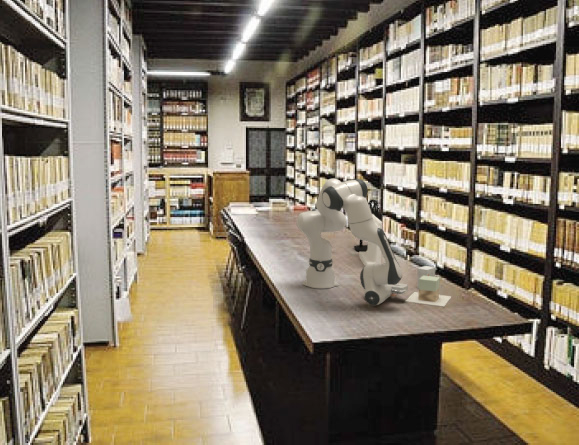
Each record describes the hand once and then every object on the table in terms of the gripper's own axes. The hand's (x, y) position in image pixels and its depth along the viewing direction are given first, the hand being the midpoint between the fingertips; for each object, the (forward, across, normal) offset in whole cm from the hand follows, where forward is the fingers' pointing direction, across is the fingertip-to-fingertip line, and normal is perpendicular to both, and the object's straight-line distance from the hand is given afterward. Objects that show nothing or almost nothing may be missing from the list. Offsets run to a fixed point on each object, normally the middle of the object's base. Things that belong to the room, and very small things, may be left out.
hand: (390, 283), depth 273 cm
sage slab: (-1, -19, 0) cm, 19 cm away
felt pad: (-1, -19, +6) cm, 20 cm away
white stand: (+63, +31, +6) cm, 71 cm away
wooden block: (-1, -19, +5) cm, 20 cm away
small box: (+20, -13, +6) cm, 25 cm away
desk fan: (+101, +45, +6) cm, 111 cm away
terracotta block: (-1, 0, +6) cm, 6 cm away
